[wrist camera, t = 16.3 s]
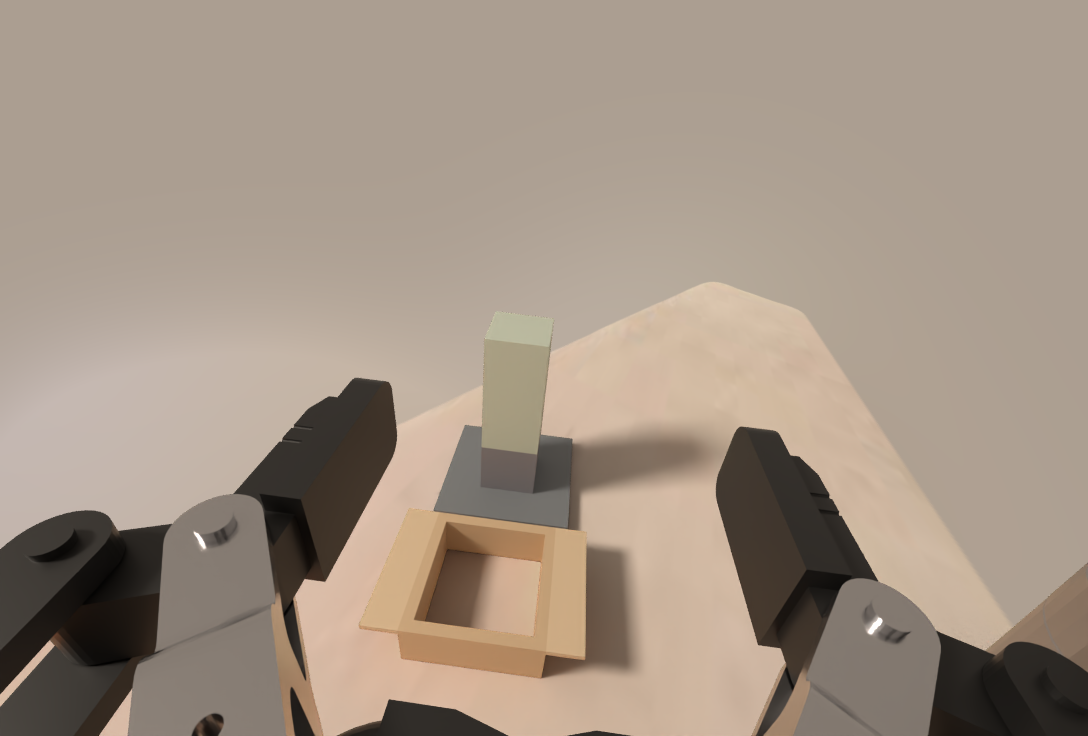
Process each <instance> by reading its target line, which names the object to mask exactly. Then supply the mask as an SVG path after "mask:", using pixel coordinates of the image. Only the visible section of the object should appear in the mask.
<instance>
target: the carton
mask: <svg viewBox="0 0 1088 736" xmlns="http://www.w3.org/2000/svg"><path fill="white" fill-rule="evenodd" d="M447 549H450V550H458V551H465V552H472V553H480V554H487V555H495V556H502V557H509V558H517V559H524V560H531V561H539V562H541V570H540V579H539V589H538V599H537V608H536V618H535V628H534V637H532V636H525V635H518V634H510V633H503V632H496V631H489V630H482V629H475V628H467V627H460V626H453V625H446V624H439V623H432V622H425V619H426V616H427V612H428V609H429V606H430V603H431V600H432V596H433V593H434V590H435V587H436V583H437V580H438V577H439V574H440V570H441V567H442V564H443V561H444V558H445V554H446V551H447ZM359 628H360V629H366V630H373V631H380V632H387V633H394V634H398V640H399V647H400V654H401V659H408V660H415V661H423V662H430V663H437V664H444V665H451V666H458V667H465V668H472V669H479V670H486V671H493V672H500V673H507V674H514V675H521V676H528V677H536V678H541V677H542V671H543V666H544V660H545V655H551V656H558V657H565V658H572V659H579V660H585V634H586V532H584V531H576V530H569V529H561V528H554V527H546V526H539V525H531V524H524V523H517V522H509V521H502V520H494V519H487V518H479V517H472V516H464V515H457V514H449V513H442V512H434V511H427V510H419V509H412V508H409V510H408V512H407V514H406V517H405V519H404V521H403V524H402V526H401V528H400V531H399V533H398V535H397V537H396V540H395V542H394V544H393V547H392V549H391V551H390V554H389V556H388V558H387V561H386V563H385V565H384V568H383V570H382V572H381V575H380V577H379V579H378V582H377V584H376V586H375V589H374V591H373V593H372V596H371V598H370V600H369V603H368V605H367V607H366V610H365V612H364V614H363V617H362V619H361V621H360V624H359Z"/></svg>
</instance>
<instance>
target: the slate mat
mask: <svg viewBox="0 0 1088 736" xmlns="http://www.w3.org/2000/svg"><path fill="white" fill-rule="evenodd" d="M481 447H482V427H477V426H469V425H465V426H464V429H463V432H462V435H461V437H460V440H459V443H458V445H457V448H456V451H455V454H454V456H453V459H452V462H451V464H450V467H449V470H448V472H447V475H446V478H445V481H444V483H443V486H442V489H441V491H440V494H439V497H438V499H437V502H436V505H435V508H434V512H442V513H449V514H457V515H464V516H472V517H479V518H487V519H494V520H502V521H509V522H517V523H524V524H531V525H539V526H546V527H554V528H561V529H568V517H569V498H570V478H571V459H572V439H570V438H562V437H554V436H547V435H541V436H540V445H539V453H538V461H537V468H536V475H535V482H534V488H533V494H529V493H522V492H514V491H507V490H500V489H492V488H485V487H480V484H481Z"/></svg>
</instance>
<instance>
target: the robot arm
mask: <svg viewBox="0 0 1088 736" xmlns="http://www.w3.org/2000/svg"><path fill="white" fill-rule="evenodd" d="M396 442H397V429H396V420H395V411H394V403H393V395H392V388H391V385H390V383H389V382H386V381H378V380H370V379H362V378H354V379H353V380H352V381H351V382H350V383H349V384H348V385H347V387H346V388H345V389H344V390H343V391H342V393H341V394H340V395H339V396H338V397H327V398H325V399H324V400H322V401H321V402H319V403H317V404H316V405H314V406H312V407H310V408H309V409H308V410H307V411H306V412H305V413H304V414H303V415H302V417H301V418H300V419H299V420H298V421H297V422H296V423H295V424H294V428H291V429H290V430H289V431H288V432H287V433H286V435H285V436H284V437H283V440H282V442H279V443H278V444H277V445H276V446H275V447H274V448H273V449H272V451H271V452H270V453H269V454H268V455H267V456H266V457H265V459H264V460H263V461H262V462H261V463H260V464H259V465H258V467H257V468H256V469H255V470H254V471H253V472H252V473H251V474H250V476H249V477H248V478H247V479H246V480H245V481H244V482H243V484H242V485H241V486H240V487H239V488H238V489H237V490H236V492H235V493H234V494H230V495H223V496H219V497H215V498H212V499H209V500H206V501H204V502H202V503H200V504H198V505H196V506H194V507H192V508H191V509H189V510H188V511H186V512H185V513H184V514H182V515H181V516H180V517H179V518H178V519H177V520H176V521H175V522H174V523H173V524H169V525H161V526H153V527H146V528H138V529H130V530H123V531H118V530H117V529H116V527H115V526H114V524H113V522H112V521H111V519H110V518H109V517H108V516H107V515H106V514H104V513H101V512H98V511H86V510H85V511H76V512H71V513H66V514H63V515H59V516H56V517H53V518H51V519H48V520H45V521H43V522H41V523H39V524H36V525H35V526H33V527H31V528H29V529H27V530H26V531H24V532H22V533H21V534H20V535H18V536H16V537H15V538H14V539H12V540H11V541H10V542H9V543H7V544H6V545H5V546H4V547H2V548H1V549H0V694H1V693H2V692H3V691H4V689H5V688H6V687H7V686H8V685H9V684H10V683H11V682H12V681H13V680H14V678H15V677H16V676H17V675H18V674H19V673H20V672H21V671H22V670H23V669H24V668H25V666H26V665H27V664H28V663H29V662H30V661H31V660H32V659H33V658H34V657H35V655H36V654H37V653H38V652H39V651H40V650H41V649H42V648H43V647H44V646H45V645H46V643H47V642H48V641H49V640H50V641H51V642H52V643H53V644H54V645H55V646H54V647H53V649H52V650H51V651H50V652H49V653H48V654H47V655H46V656H45V657H44V659H43V660H42V661H41V662H40V663H39V664H38V665H37V666H36V668H35V669H34V670H33V671H32V672H31V673H30V674H29V675H28V676H27V678H26V679H25V680H24V681H23V682H22V683H21V684H20V685H19V687H18V688H17V689H16V690H15V691H14V692H13V693H12V694H11V695H10V697H9V698H8V699H7V700H6V701H5V702H4V703H3V704H2V706H1V707H0V736H99V735H100V733H101V732H102V730H103V729H104V727H105V726H106V725H107V723H108V722H109V720H110V719H111V718H112V716H113V715H114V713H115V712H116V710H117V709H118V708H119V706H120V705H121V703H122V702H123V701H124V699H125V698H126V696H127V695H128V693H129V692H130V691H131V689H132V698H131V708H130V718H129V728H128V736H323V731H322V727H321V722H320V718H319V714H318V711H317V707H316V704H315V700H314V696H313V691H312V687H311V681H310V675H309V670H308V664H307V658H306V653H305V647H304V641H303V636H302V630H301V624H300V619H299V613H298V607H297V602H296V598H295V594H296V593H297V591H298V589H299V588H300V586H301V584H302V582H303V581H304V579H309V580H316V581H323V582H325V581H326V579H327V577H328V576H329V574H330V572H331V570H332V568H333V566H334V564H335V563H336V561H337V559H338V557H339V555H340V553H341V552H342V550H343V548H344V546H345V544H346V542H347V540H348V539H349V537H350V535H351V533H352V531H353V529H354V528H355V526H356V524H357V522H358V520H359V518H360V516H361V515H362V513H363V511H364V509H365V507H366V505H367V503H368V502H369V500H370V498H371V496H372V494H373V492H374V491H375V489H376V487H377V485H378V483H379V481H380V479H381V478H382V476H383V474H384V472H385V470H386V468H387V467H388V465H389V463H390V461H391V459H392V457H393V454H394V451H395V447H396ZM829 496H830V495H829V493H828V491H827V489H826V488H825V486H824V484H823V482H822V481H821V479H820V477H819V475H818V474H817V473H816V472H815V471H814V470H813V469H812V468H810V467H809V466H808V465H807V464H806V463H805V462H804V461H803V460H802V459H801V458H800V457H798V456H790V454H789V452H788V450H787V448H786V446H785V444H784V442H783V440H782V438H781V437H780V435H779V433H778V432H776V431H773V430H765V429H757V428H749V427H739V428H738V429H737V430H736V432H735V434H734V436H733V439H732V441H731V444H730V446H729V449H728V451H727V454H726V456H725V459H724V461H723V464H722V466H721V469H720V471H719V474H718V477H717V483H716V498H717V503H718V507H719V510H720V514H721V517H722V521H723V524H724V528H725V531H726V535H727V538H728V542H729V545H730V549H731V552H732V556H733V559H734V563H735V566H736V570H737V573H738V577H739V580H740V584H741V587H742V591H743V594H744V597H745V601H746V604H747V608H748V611H749V615H750V618H751V622H752V625H753V629H754V632H755V636H756V639H757V643H758V645H762V646H769V647H776V648H781V650H782V653H783V656H784V659H785V662H786V663H785V664H784V665H783V667H782V668H781V670H780V672H779V674H778V677H777V679H776V681H775V683H774V686H773V688H772V690H771V692H770V695H769V697H768V699H767V702H766V704H765V706H764V708H763V711H762V713H761V715H760V717H759V720H758V722H757V724H756V726H755V729H754V731H753V733H752V736H1088V563H1087V564H1086V565H1084V567H1082V568H1081V569H1080V570H1079V571H1077V572H1076V573H1075V574H1074V575H1073V576H1072V577H1070V578H1069V579H1068V580H1067V581H1066V582H1065V583H1064V584H1062V585H1061V586H1060V587H1059V588H1058V589H1057V590H1055V591H1054V592H1053V593H1052V594H1051V595H1050V596H1048V598H1047V599H1046V600H1044V601H1043V602H1042V603H1041V604H1040V605H1038V606H1037V607H1036V608H1035V609H1034V610H1033V611H1032V612H1030V613H1029V614H1028V615H1027V616H1026V617H1025V618H1023V619H1022V620H1021V621H1020V622H1019V623H1017V624H1016V625H1015V626H1014V627H1013V628H1012V629H1010V630H1009V631H1008V632H1007V633H1006V634H1005V635H1003V636H1002V637H1001V638H1000V639H999V640H998V641H996V642H995V643H994V644H993V645H992V646H991V647H989V648H988V649H987V650H986V651H984V650H981V649H979V648H977V647H974V646H972V645H969V644H967V643H964V642H962V641H959V640H957V639H954V638H952V637H950V636H947V635H945V634H942V633H940V632H938V631H936V630H935V628H934V627H933V625H932V623H931V622H930V620H929V619H928V618H927V616H926V615H925V614H924V613H923V612H922V611H921V610H920V609H919V608H918V607H917V606H916V605H915V604H914V603H913V602H912V601H911V600H909V599H908V598H907V597H905V596H904V595H903V594H901V593H900V592H898V591H897V590H895V589H893V588H891V587H889V586H887V585H885V584H883V583H880V582H878V580H877V578H876V576H875V575H874V573H873V571H872V569H871V567H870V566H869V564H868V562H867V560H866V559H865V557H864V555H863V553H862V551H861V550H860V548H859V546H858V544H857V543H856V541H855V539H854V537H853V536H852V534H851V532H850V530H849V528H848V527H847V525H846V523H845V521H844V520H843V518H842V516H839V511H838V509H837V507H836V505H835V504H834V502H833V500H832V499H830V498H829ZM337 736H508V735H506V734H504V733H502V732H500V731H498V730H496V729H494V728H492V727H490V726H488V725H486V724H484V723H482V722H480V721H478V720H476V719H474V718H472V717H470V716H468V715H466V714H464V713H462V712H460V711H458V710H456V709H449V708H442V707H436V706H429V705H423V704H416V703H409V702H403V701H396V700H389V701H388V704H387V707H386V710H385V713H384V716H383V719H382V721H377V722H372V723H368V724H365V725H362V726H359V727H356V728H353V729H351V730H348V731H346V732H344V733H342V734H340V735H337ZM569 736H629V735H622V734H615V733H609V732H602V731H592V732H586V733H580V734H575V735H569Z"/></svg>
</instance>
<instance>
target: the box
mask: <svg viewBox="0 0 1088 736" xmlns="http://www.w3.org/2000/svg"><path fill="white" fill-rule="evenodd" d="M553 324H554V319H553V318H545V317H536V316H529V315H521V314H512V313H504V312H496V313H495V315H494V318H493V320H492V322H491V325H490V327H489V329H488V332H487V334H486V336H485V339H484V373H483V376H484V377H483V410H482V447H481V484H480V487H485V488H492V489H500V490H507V491H514V492H522V493H529V494H533V488H534V482H535V475H536V468H537V461H538V453H539V445H540V436H541V427H542V419H543V410H544V402H545V393H546V384H547V376H548V367H549V358H550V350H551V349H550V348H551V341H552V332H553Z"/></svg>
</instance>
